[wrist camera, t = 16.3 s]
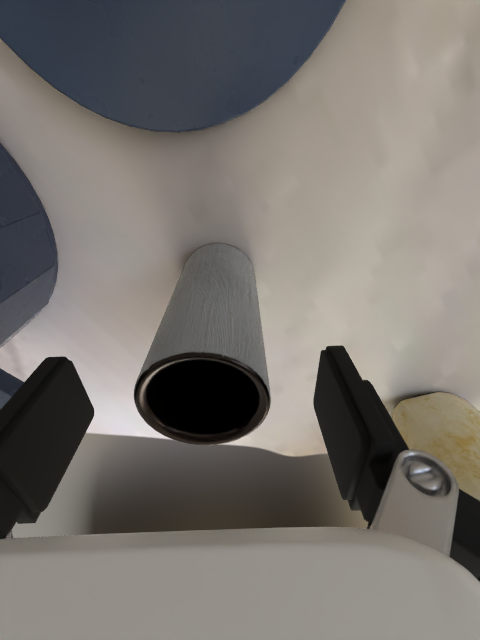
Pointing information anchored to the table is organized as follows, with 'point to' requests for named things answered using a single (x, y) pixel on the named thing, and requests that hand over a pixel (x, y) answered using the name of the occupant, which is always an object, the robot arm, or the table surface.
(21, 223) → the pot
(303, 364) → the table surface
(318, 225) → the table surface
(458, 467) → the food model
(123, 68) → the lid
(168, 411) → the grey tube
